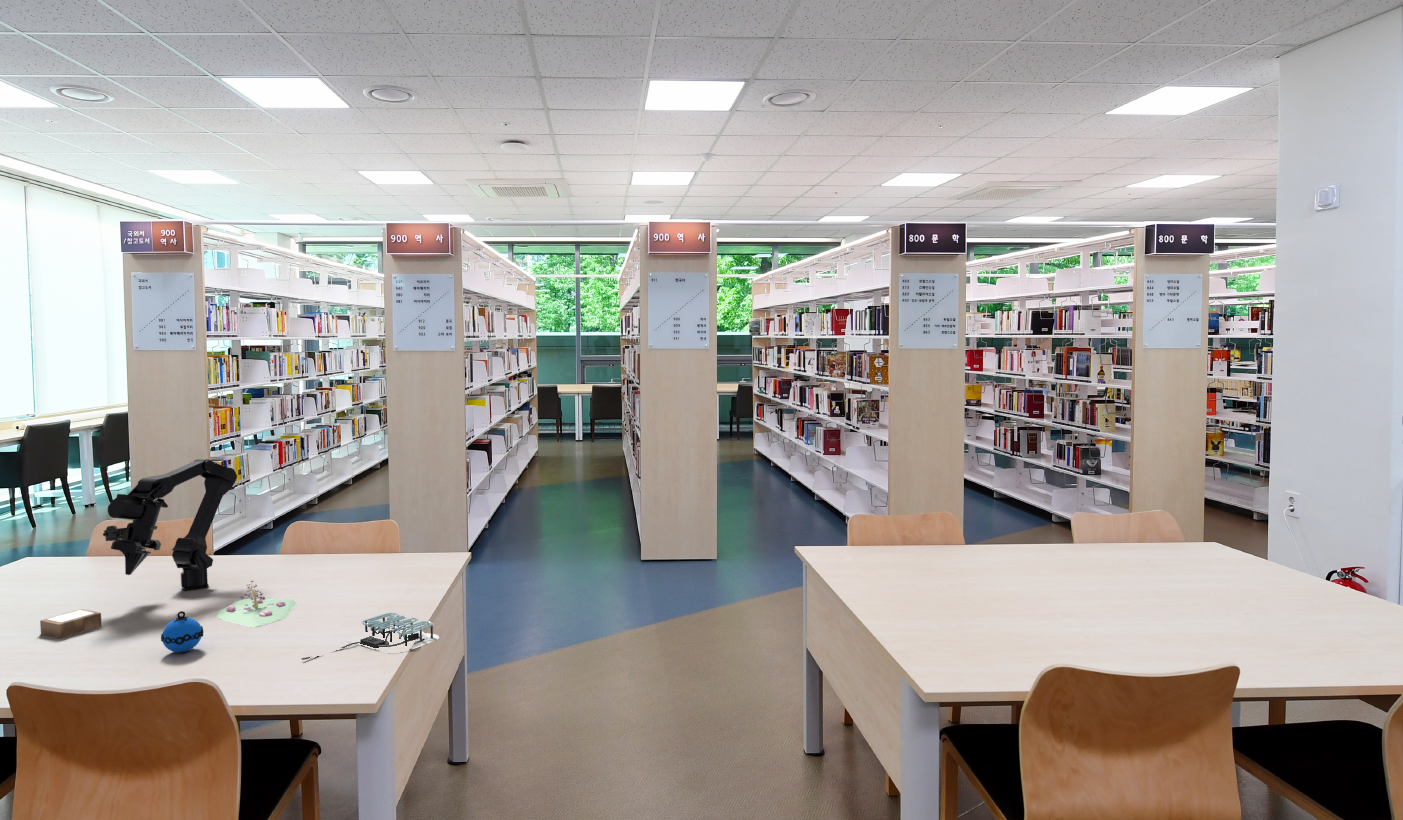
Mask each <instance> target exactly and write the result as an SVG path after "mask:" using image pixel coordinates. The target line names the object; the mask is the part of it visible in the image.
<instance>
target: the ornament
mask: <svg viewBox="0 0 1403 820" xmlns="http://www.w3.org/2000/svg"><path fill="white" fill-rule="evenodd" d="M181 614H182V615H181ZM176 616H177V617H176V618H174V619H173V620H171V621H169V622H168V623H167V624H166V626H165V627H164V629H163V630H162V633H160V634H161V635H160V641H161V642H162V644H163V645H164V647H165V648H166V649H168V650H169V651H171V652H173V653H179V654H181V653H186V652H188V651H191V650H192V649H194V648H195V647H196V646H197V645H199V643H200V641H201V640H202V637H204V629H203V628H204V626H203V625H201V624H200V623H199V621H198V620H196V619H195V618H193V617H189V616H186V612H185V611H182V610H181V611H179V612H177V615H176Z"/></svg>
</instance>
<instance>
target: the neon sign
mask: <svg viewBox="0 0 1403 820" xmlns="http://www.w3.org/2000/svg"><path fill="white" fill-rule="evenodd" d="M406 618H407V615H400V614H399V613H396V612H386V613H383V614H380V615H376V616H373V617H370V618H367V619H363V620H362V621H361V624H362V625H364V629H365V630H364V632H368V628H370V629H369V630H371V631H372V636H375V633H376V634H379V633H381V634H382V635H383V638H385V633H388V634H387V636H386V639H385V641H384V640H381V639H378V638H374V637H372V636H369V637H366V638H363V639H360V642H354V643H348V644H346V645H344V646H342V647H340V648H343V649H345V647H346V648H348V647H349V646H353V645H358V643H360V644H363V645H367V646H370V647H373V648H379V647H393V646H397V645H401V644H404V643H405V646H407V642H409V641H413V640H416V639H417V640H416V642H415V643H414V645H413V647H412V649H411V650H410V651H412V650H416V649H418V648H420V647H423V646H427V645H429V644H431V643H434V642H437V640H439V639H440V636H439V635H438V634H435V633H434V623H433V622H431V621H429V620H428V621H427V620H421V621H419V618H417V617H411V618H407V619H406ZM380 619H382V621H381V620H380ZM418 621H419V622H418ZM390 625H393V626H390ZM395 626H397V627H398V628H395ZM399 626H400V627H399ZM377 627H378V628H377ZM390 627H392V628H390ZM402 627H403V628H402ZM387 628H388V629H389V631H386V632H385V629H387ZM406 628H407V629H406ZM427 628H430V633H429V632H428V633H425V632H424V631H423V630H425V629H427ZM410 629H411V630H410ZM377 630H378V633H377V632H376V631H377ZM400 630H403V631H402V633H400V632H399V631H400ZM407 630H409V631H407ZM396 631H397V633H398V634H399V639H401V637H402V636H403V637H404V640H405V641H403V642H401V643H397V644H393V645H389V642H388V641H387V638H388V636H389V634H390V642H392V632H393V633H395V632H396ZM406 631H407V632H406ZM418 631H420V635H419V633H415V632H418ZM413 633H414V634H413ZM407 634H411V635H408V637H407ZM407 638H408V640H407ZM347 646H348V647H347ZM310 657H311V656H308V657H301V658H300V659H301V660H303V661H304V660H308V659H309V658H310ZM310 659H311V658H310ZM310 659H309V660H310Z"/></svg>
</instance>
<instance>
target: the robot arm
mask: <svg viewBox="0 0 1403 820" xmlns="http://www.w3.org/2000/svg"><path fill="white" fill-rule="evenodd" d="M199 476H200V477H201V478H203V479H204V482H203V483H204V489H205V490H204V491H205V493H204V495H203V498H202V500H201V502H200V504H199V507H198V509H197V512H196V514H195V516H194V518H193V521H192V524H191V526H190V528H189V531H188V533H187V534H186V535H185V536H184V537H178V538H177V539H176V540H175V545H174V546H173V548H172V549H171V550H172V554H171V558H172V559H173V561H174V563H175V566H176V568H177V569H182V572H180V586H181V588H183V591H191V590H197V589H198V590H199V589H203V588H209V587H210V586H209V585H210V584H209V582H208V569H209V568H211V567H212V566H213V562H214V559H213V557H211V556H210V555H209V554H207V549H208V545H207V541H206V538H207V535H208V533H209V531H210V528H211V525H212V524H213V523H212V522H213V520H214V519H215V516H216V513H217V511H218V508H219V506H220V504H221V501H222V499H223V497H224V495H226V494H227V493H229V492H230V491H231V490H232V489H233V487H234V485H235V483H236V481H237V479H238V474H237V472H236V470H235V469H234V468H232V467H227V466H226V465H225V466H224V465H222V464H220V463H216V462H215V461H213V460H211V459H208V458H197V459H195V460H193V461H192V462H189V463H187V464H184V465H183V466H179V467H178V468H176V469H173V470H171V471H169V472H166V473H163V474H159V475H151V476H146V477H143V478H140V479H139V480H137V481H138V482H137V484H136V485H135V486H134V487H133V489H131V490H130V492H128V493H127V494H126V493H117V494H116V497H115V498H113V500H111V501H110V502H109V504H108V506H107V513H108V515H109V517H110V518H112V519H120V520H131V521H132V522H128V523H127V526H126V527H119V528H118V527H117V526H116V525H107V526H106V528H105V530H103V533H102V536H103V537H104V539H105V542H112V543H111V546H110V549H111V550H115V551H119V552H120V553H122V554H123V556H124V562H125V563H124V565H125V566H124V567H125V573H124V574H125V575H126V576H131V575H132V573H134V572H135V570H136V569H137V568H138V567H139V566H140V565H141V564H142V563H143V562H144V560H145V559H146V558H147V557H148V556H149V555H150V554H152V552H151V551H148V550H147V549H153V551H160V549H161V545H162V543H161V542H160V540H159V539H153V538H152V537H153V534H154V532H155V531H157V529H158V525H156V524H157V521H158V518H159V514H160V512H161V508H163V509H165V508H168V507H169V505H168V504H167V503H166V501H165V499H164V497H166V496H167V495H169V494H171V492H173V490H174V489H175V488H176V486H179V485H181V484H183V483H186V482H187V481H190V480H192V479H195V478H197V477H199Z"/></svg>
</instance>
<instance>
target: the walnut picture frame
mask: <svg viewBox="0 0 1403 820" xmlns="http://www.w3.org/2000/svg"><path fill="white" fill-rule="evenodd" d="M39 623H40V624H39V625H40V627H39V628H40V635H42V636H47V637H50V638H51V637H52V638H56V639H63V638H67V637H71V636H74V635H76V634H81V633H84V632H87V631H91V630H94V629H98V628H101V627H102V612H98V611H93V610H90V609H78V610H73V611H71V612H67V613H63V614H59V615H56V616H51V617H47V618H43V619H40V621H39Z"/></svg>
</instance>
